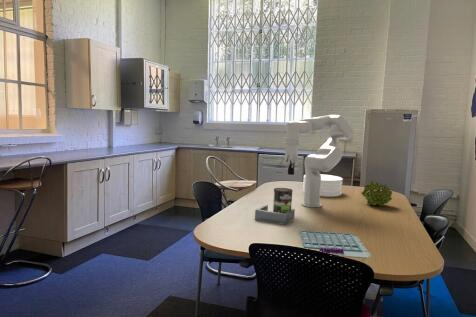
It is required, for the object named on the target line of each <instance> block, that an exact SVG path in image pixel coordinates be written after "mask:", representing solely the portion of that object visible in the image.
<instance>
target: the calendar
mask: <svg viewBox="0 0 476 317" xmlns="http://www.w3.org/2000/svg"><path fill="white" fill-rule="evenodd" d="M299 234H300V238H301V243H302V247H303V249H304V248H308V249H314V250H318V251H322V252H326V253H332V254H335V255H339V256H338V257H349V258H364V259H365V258H366V259H371V257H373V255H372V253H371V252H369V250H368V249H367V248H366V246H365V245H364V244H365V243H364V242H361V241H362V239H360V237H358V236H356V235H353V234H352V233H348V232H347V233H346V232H333V231H330V232H329V231H316V230H299Z"/></svg>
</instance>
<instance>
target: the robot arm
mask: <svg viewBox="0 0 476 317" xmlns="http://www.w3.org/2000/svg"><path fill="white" fill-rule="evenodd" d="M325 130H327V139H326V142H325V143H323V144H322V145H321V146H320V147H318V149H317V150H316V154H308V155H307V156H306V157H305V158H304V170H305V174H304V175H305V192H303V193H304V195H303V197H304V198H303V201H301V203H300V205H301V206H303V207H307V208H320V207H321V208H322V206H323V203H322V202H320V201H321V200H320V199H321V196H320V187H321V175H320V174H321V173H320V172H323V173H327V172H330V171H331V170H332V169H334V167H335V166H337V165H338V163H340V161H341V159H342V157H343V151H342V149H341V148H340V146H339V142H338V139H340V140H342V139H343V140H350V139H351V138H353V136H354V132H355V131H354V127H353V126H352V125H351V124H350V123H349V121H348V120H347V119H346V118H345V117H344V115H340V114H327V115H322V116H317V117H310V118H301V119H295V120H292V121H289V120H288V121H287V123H286V133H285V134H286V136H285V139H286V140H285V145H286V147H285V150H284V152H285V153H284V162H285V163H287V174H288V175H290V176H293V175H295V164H296V163H297V162H298V159H299V158H298V157H299V146H300V137H301V136H300V135H309V134H311V133H312V132H320V131H325Z"/></svg>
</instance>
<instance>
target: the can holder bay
mask: <svg viewBox="0 0 476 317" xmlns="http://www.w3.org/2000/svg"><path fill="white" fill-rule="evenodd" d="M295 210H296V208H291V210H289V211H288V212H286V213H285V214H283V213H277V212H273V211H270V210H269V205H268V204H264V205H262V206H259V207H258V208H256V209H255V210H254V220H258V221H263V222H270V223H276V224H280V225H281V224H282V225H288V224H289V223H290V222H291V221H292V220H294V219H295V214H296V213H295V212H296V211H295Z"/></svg>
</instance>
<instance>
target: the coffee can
mask: <svg viewBox="0 0 476 317" xmlns="http://www.w3.org/2000/svg"><path fill="white" fill-rule="evenodd" d="M292 198H293V189H292V188H287V187H275V188H273V206H272V212H277V213H283V214H285V213H286V212H288V211H289V210H291V209H292V203H293V202H292V200H293V199H292Z"/></svg>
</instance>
